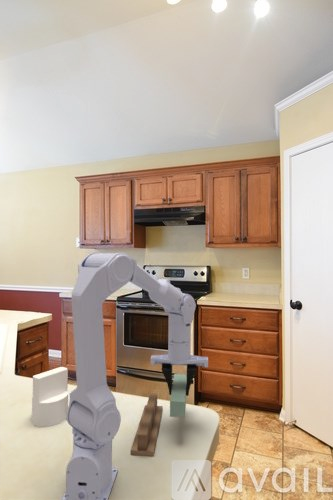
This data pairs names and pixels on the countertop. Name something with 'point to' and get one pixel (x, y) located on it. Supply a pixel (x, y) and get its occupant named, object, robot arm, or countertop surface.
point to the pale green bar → (178, 396)
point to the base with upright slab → (50, 397)
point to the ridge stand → (148, 428)
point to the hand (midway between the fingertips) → (179, 393)
